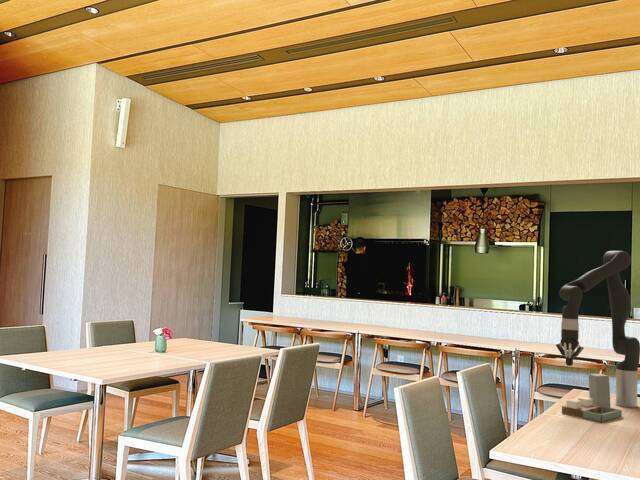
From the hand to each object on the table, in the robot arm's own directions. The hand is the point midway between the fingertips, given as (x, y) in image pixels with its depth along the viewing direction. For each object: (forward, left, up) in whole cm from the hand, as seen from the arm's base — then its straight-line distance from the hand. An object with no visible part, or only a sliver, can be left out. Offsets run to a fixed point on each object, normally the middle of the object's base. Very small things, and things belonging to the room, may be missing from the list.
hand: (569, 365), depth 280 cm
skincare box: (-13, +8, -20) cm, 25 cm away
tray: (+5, +18, -20) cm, 27 cm away
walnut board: (+5, +9, -20) cm, 22 cm away
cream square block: (+10, +8, -17) cm, 21 cm away
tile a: (0, +8, -17) cm, 18 cm away
